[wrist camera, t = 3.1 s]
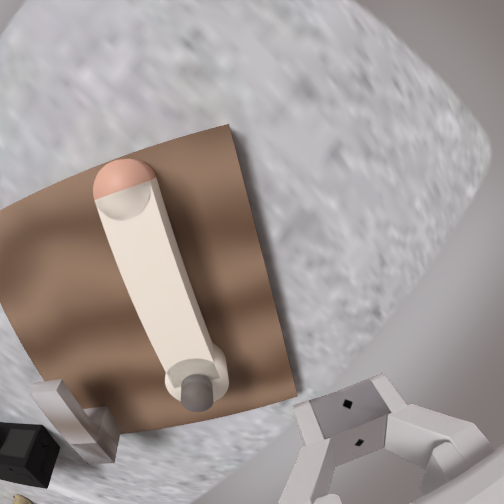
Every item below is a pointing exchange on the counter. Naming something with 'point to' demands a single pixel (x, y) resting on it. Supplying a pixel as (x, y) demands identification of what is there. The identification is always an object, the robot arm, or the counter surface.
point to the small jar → (21, 500)
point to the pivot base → (122, 308)
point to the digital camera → (27, 454)
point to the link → (156, 274)
